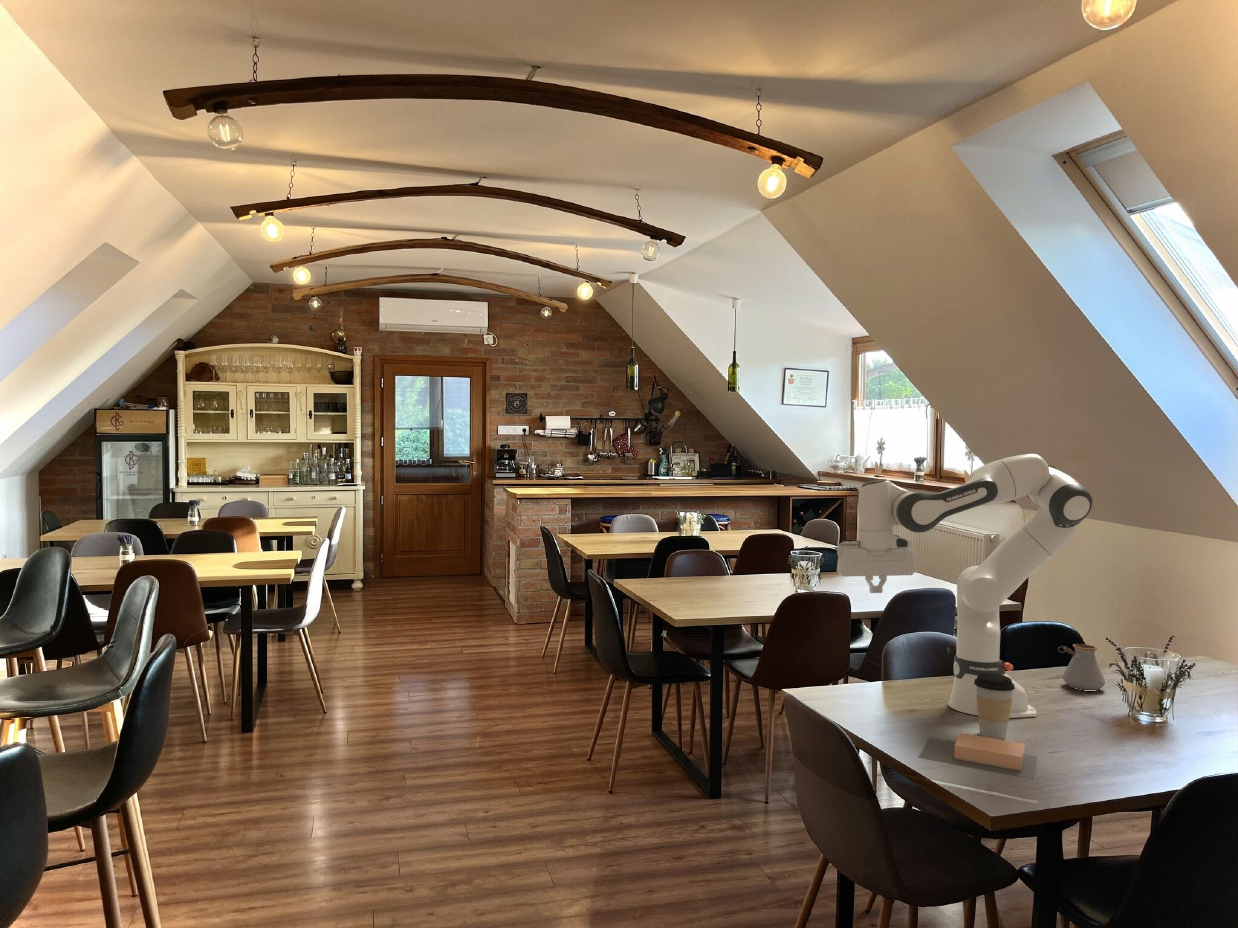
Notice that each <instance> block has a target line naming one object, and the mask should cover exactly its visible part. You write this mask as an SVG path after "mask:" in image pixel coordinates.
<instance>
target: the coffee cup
mask: <svg viewBox="0 0 1238 928" xmlns="http://www.w3.org/2000/svg"><path fill="white" fill-rule="evenodd" d="M1009 677H1010V676H1009ZM1009 677H1006V676H1003V675H998V674H988V673H985V674H979V675H978V676H977V678H976V679H975V680H974V681H975V682H974V684H975V685H976V687H977V694H976V697H977V711H978V716H977V717H978V726H979V727H978V728H979V736H982V737H988V738H994V739H1000V740H1004V739H1006V737H1007V730H1008V724H1009V721H1010V718H1009V717H1010V710H1011V703H1012V692H1013V690H1014V689H1015V687H1014V684H1013V683H1012V679H1013V678H1012V679H1011V677H1010V678H1009Z"/></svg>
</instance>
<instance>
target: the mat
mask: <svg viewBox="0 0 1238 928" xmlns="http://www.w3.org/2000/svg"><path fill="white" fill-rule="evenodd" d="M955 743H956V741H954V740H948V739H942V738H936V737H933V736H929V738H928V740H927V742H926V743H925V745H924V747H923V748H922V751H921V752H920V754H919V755H918V758H920V759H925V760H929V761H934V762H941V763H946V764H950V765H957V766H962V767H968V768H972V769H977V770H983V771H987V772H991V773H992V772H993V773H999V774H1003V775H1007V776H1008V775H1009V776H1013V777H1018V778H1019V777H1020V778H1025V779H1029V780H1030V779H1031V780H1034V779H1035V772H1036V766H1037V760H1038V756H1037V755H1032V754H1027V753H1024V759H1023V764H1022V769H1021V770H1020V771H1015V770H1010V769H1005V768H999V767H994V766H988V765H983V764H978V763H972V762H967V761H962V760H956V758H954V751H955Z"/></svg>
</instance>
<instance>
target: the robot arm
mask: <svg viewBox="0 0 1238 928" xmlns="http://www.w3.org/2000/svg"><path fill="white" fill-rule="evenodd" d="M1022 497H1027V498H1028V499H1030V500H1031V501H1032V502H1033V504H1035V505H1036V507H1038V509H1037V511H1036V513H1035V514H1034V516H1033V517H1032V518H1030V519H1029V520H1028V521H1026V522H1024V524H1023V525H1021V526H1020V527H1018V528H1017V530H1015V531H1014V532H1013V533H1011V535H1009V536H1008V537H1006V539H1005V540H1003V541H1002V542H1001V543H1000V544H998V545H997V547H996V548H995V549H994V550H993V551H992V553H991V554H990V555H989V556H988V557H987V558H986V559H985V560H983V562H981V563H980V564H979V565H972V566H971V565H970V566H968V567H966V568H965V569H963V570H962V571H961V573H960V574H959V576H958V578H957V582H956V625H957V626H956V627H957V628H956V650H955V651H956V654H955V655H954V660H953V662H954V663H953V675H954V681H953V685H952V686H953V687H952V690H951V693H950V697H949V700H948V703H947V705H948V707H950V708H951V709H953V710H956V711H958V712H961V713H964V714H968V715H973V716H977V717H978V711H977V697H976V694H977V687H976V685H975V684H974V682H975V681H974V680H975V679H976V678H977V676H978V675H979V674H985V673H988V674H998V675H1003V676H1006V677H1009V678H1011V677H1010V675H1008V674H1007V673H1006V671H1008V672H1011V671H1013V669H1014V665H1013V664H1011V663H1010V662H1005V661H1003V660H1001V659H1000V652H1001V649H1000V648H1001V647H1000V645H1001V625H1000V624H1001V623H1000V607H1001V605H1003V603H1004V602H1005V601H1006V600H1008V599H1009V598H1010V597H1011V595H1012V594H1014V593H1015V591H1016V590H1017V589H1019V587H1020V586H1021V585H1022V584H1023V583H1024V582H1025V581H1027V579H1028V578H1029V577H1030V576H1031V575H1032V574H1034V573H1035V572H1036V571H1037V570H1039V569H1040V568H1041V567H1042V566H1044V564H1046V562H1048V561H1049V560H1051V559H1052V558H1053V557H1054V556H1055V555H1056V554H1058V552H1060V551H1061V550H1062V549H1063V548H1064V547H1065V546H1066V545H1067V544H1068V542H1069V541H1070V540H1071V539H1072V538H1073V536H1074V535H1075V534H1076V531H1077V525H1079V524H1080V523H1081V522H1082V521H1084V520H1085V519H1086V518H1087V517H1088V515H1089V514H1090V513H1091V511H1092V508H1093V506H1094V505H1093V504H1094V502H1093V501H1094V500H1093V497H1092V495H1091V493H1090V492H1089V491H1088V489H1087V488H1086V487H1085V486H1084V485H1081V483H1080V482H1078V481H1077V480H1076V479H1075V478H1074V477H1072V475H1071V476H1070V475H1069V474H1067V473H1065V472H1063V471H1061V470H1059V469H1058V468H1057V467H1055V466H1053V465H1050V464H1048V463H1047V461H1046V460H1045V459H1044V458H1043V457H1042V456H1041V455H1039V454H1036V453H1026V454H1019V455H1014V456H1008V457H1005V458H1002V459H1001V458H1000V459H998V460H997V459H996V460H995V461H991V462H988V463H986V464H984V465H982V466H980V467H978V468H976V469H975V470H973V471H972V473H971V475H970V476H969V479H968V481H967V482H964V483H963V484H961V485H959V486H956V487H952V488H949V489H947V490H944V491H941V492H937V493H926V492H914V491H910V490H907V489H905V488H903V487H900V486H898V485H896V484H894V483H893V482H892V481H890V480H889V479H886V478H882V479H873V480H870V481H869V480H868V481H866V482H864V483H863V484H862V485H861V486H860V488H859V491H858V497H857V498H858V499H857V501H858V502H857V513H858V518H859V523H858V529H857V530H858V531H857V534H858V536H857V537H858V539H857V540H852V541H851V540H850V541H848V540H847V541H846V540H845V541H842V542H840V543H838V545H837V547H836V555H837V565H836V573H837V574H838V575H839V576H840V577H864V579H865V581H866V583H867V585H868V586H869V593H870V594H881V593H883V589H884V585H885V583H886V582H887V578H888V576H889V577H890V576H891V577H893V576H895V577H896V576H899V577H901V576H912V575H914V574H915V571H916V561H915V555H914V552H913V550H912V549H911V547H912V541H911V540H910V539H908V538H905V537H901V536H900V535H897V534H894V526H895V527H896V526H899V527H903V528H905V529H907V531H908V530H909V531H910V532H912V533H916V534H917V533H918V534H919V533H926V532H929V531H930V530H932V529H933V528H935V527H936V526H937V525H938V524H939V523H940V522H942V521H943V520H945V519H946V518H948V517H950V516H953V515H957V514H958V513H961V512H964V511H967V510H970V509H973V508H977V507H980V506H991V505H992V506H993V505H997V504H998V505H999V504H1003V503H1007V502H1011V501H1014V500H1017V499H1019V498H1022ZM874 577H878V579H879V582H878V584H877V585H874V584H873V582H872V581H874ZM1011 679H1012V683H1013V684H1014V687H1015V689H1014V690H1013V692H1012V703H1011V710H1010V717H1009V719H1012V718H1013V719H1014V718H1016V719H1017V718H1032V717H1034V718H1035V717H1037V714H1038V713H1037V710H1036V709H1035V708H1034V707H1033V706H1032V705H1030V704H1029V702H1028V701H1029V700H1028V696H1027V693H1026V690H1025V689H1024V688H1023V687H1022V686H1021V684H1019V683H1018V682H1016V681H1015V680H1014V679H1013V678H1011Z"/></svg>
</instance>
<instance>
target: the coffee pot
mask: <svg viewBox="0 0 1238 928" xmlns="http://www.w3.org/2000/svg"><path fill="white" fill-rule="evenodd" d="M1072 647H1073V648H1074V651H1073V650H1072V649H1071V648H1068V646H1065V645H1061V646H1059V647H1058V648H1057V651H1058V652H1060V653H1061V654H1062V653H1063V654H1064V653H1066V652H1067V653H1068V654H1070V655H1072V657H1071V660H1070V662H1069V663H1068V665H1067V667H1066V669H1065V670H1064V672H1063V674H1062V679H1063V681H1064V682H1065V683H1066V685H1068V687H1069V686H1070V687H1073V688H1077V689H1081V690H1100V689H1102V688H1103V687H1104V686H1105V684H1106V679H1105V677H1104V674H1103V672H1102V670H1101V667H1100V665H1099V662H1098V661H1097V658H1096V655H1095V653H1096V650H1097V649H1098V648H1097V646H1095V645H1092V644H1091V645H1090V644H1086V643H1085V644H1083V643H1072ZM1060 648H1062V649H1063V651H1060V650H1059V649H1060ZM1070 687H1069V688H1070Z"/></svg>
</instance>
